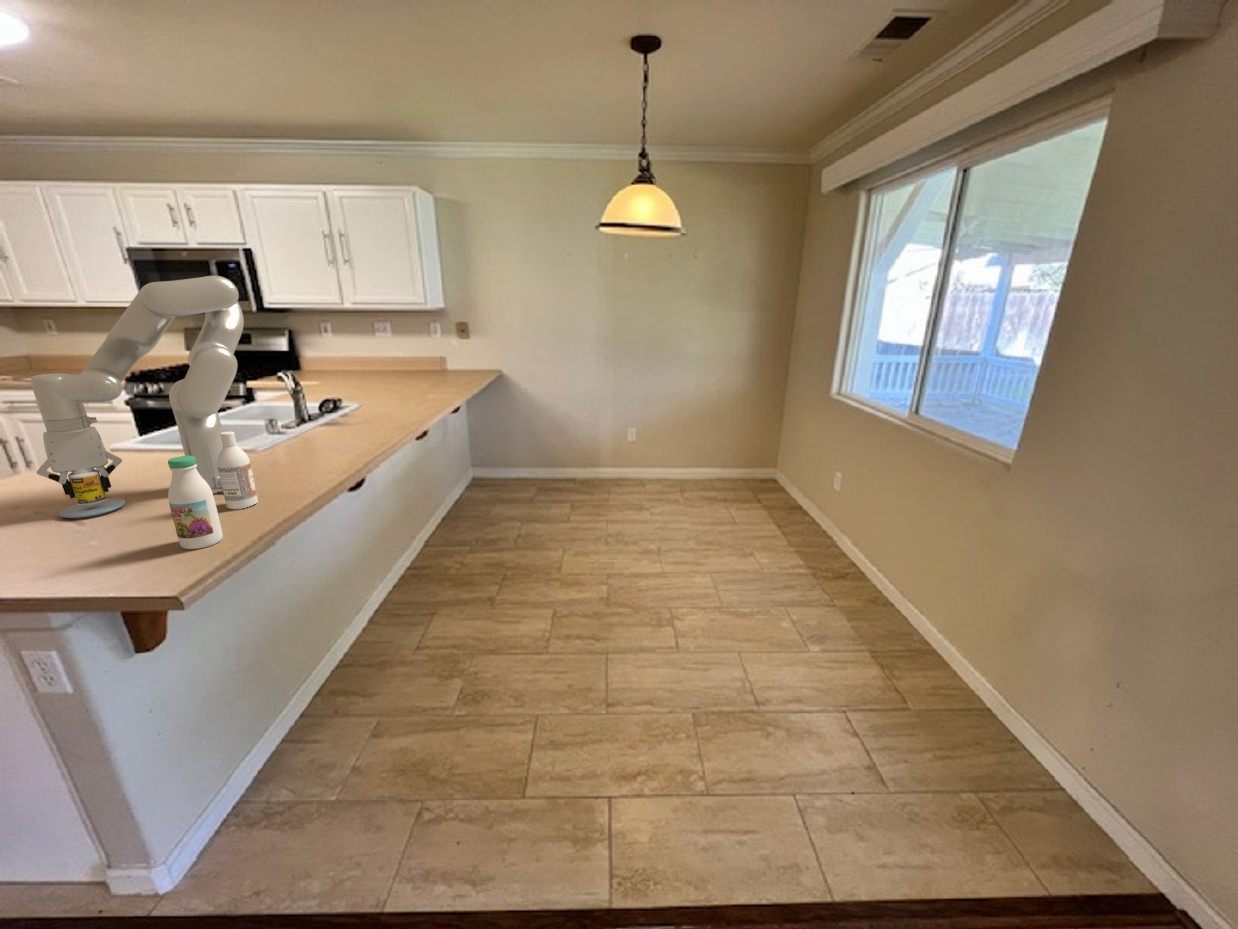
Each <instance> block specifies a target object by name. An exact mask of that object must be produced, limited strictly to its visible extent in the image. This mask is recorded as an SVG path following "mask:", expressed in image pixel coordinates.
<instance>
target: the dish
mask: <svg viewBox="0 0 1238 929" xmlns="http://www.w3.org/2000/svg"><path fill="white" fill-rule="evenodd" d="M125 505H126V500H124V499H123V498H115V497H114V498H107V499H106V500H105V501H104V502H102V503H99V504H95V505H89V506H80V505H78V504H77V503H76V504H74V505H70V506H67V507H65V508H63V509H62V510H60V511H59V513H58V514H59V516H60V517H61V518H65V519H66V518H67V519H77V520H78V519H79V520H80V519H90V518H95V517H99V516H103V515H107V514H110V513H113V512H115V511H117V510H118V509H121V508H122V507H124V506H125Z"/></svg>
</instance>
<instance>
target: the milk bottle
mask: <svg viewBox="0 0 1238 929" xmlns="http://www.w3.org/2000/svg"><path fill="white" fill-rule="evenodd" d="M167 465H168V467H169V470H170V471H171V482H170V484H169V487H168V492H167V497H168V498H167V499H168V504H169V508H170V512H171V516H172V521H173V525H174V528H175V532H176V536H177V538H178V543H179V546H180V548H182V549H185V550H198V549H203V548H206V547H211V546H213V545H216V544H217V543H219V541H220V540H221V541H222V540H223V537H224V534H223V530H222V526H221V521H220V517H219V513H218V512H219V511H218V509H217V504H216V501H215V497H214V494H213V493H212V490H211V488H210V486H209V485H208V483H207V482H206V481H205V480H204V479H203V478H202V477H201V476H200V474H199V473H198V471H197V469H196V466H197V465H196V459H195V457H194V456H185V455H181V456H175V457H172V458H170V459H168V460H167ZM221 541H220V542H221Z"/></svg>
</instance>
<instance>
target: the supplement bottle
mask: <svg viewBox="0 0 1238 929" xmlns="http://www.w3.org/2000/svg"><path fill="white" fill-rule="evenodd" d="M67 479H68V480H69V481H70V484H71V487H72V490H73V493H74V496H75V498H74V499H75V503H76V504H78V505H80V506H89V505H95V504H99V503H102V502H104V501H105V500H106V499H108V497H107V494H106V493H107V492H105V491H104V487H103V484H102V481H101V473H100V472H99V471H98V470H97V469H96V468H90V469H79V470H76V471H70V473H68V475H67Z"/></svg>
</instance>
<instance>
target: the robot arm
mask: <svg viewBox="0 0 1238 929" xmlns="http://www.w3.org/2000/svg"><path fill="white" fill-rule="evenodd" d="M238 290H239V289H238V288H237V286H236V285H235V283H233V282H232V281H231V280H230V279H229V278H227V277H224V276H220V275H207V276H201V277H193V278H186V279H185V278H184V279H176V280H167V281H166V280H165V281H153V282H149V283H147V284H144V285H143V286H142V287H141V289H140V290H139V291H137V294H136V295H135V296H134V298H133V299H132V301H131V302H130V304H129V305H128V306H127V308H126V309H125V310H124V312H123V314H122V315H121V316H120V318H119V319H118V320H117V321H116V322H115V324H114V325H113V327H112V328H111V330H110V331H109V332H108V334H107V336H106V338H105V339H104V341H103V342H102V343H101V345H100V346H99V348H97V350H96V352H95V353H94V354H93V356H91V359H90V360H89V362H87V364H86V365H85V367H84V368H83V369H82V371H81V373H80V374H71V373H64V372H63V373H61V372H58V373H55V372H54V373H42V374H36V375H33V376H32V377H31V378H30V380H29V381H30V386H31V388H32V392H33V394H34V398H35V400H36V403H37V406H38V410H39V413H40V415H41V419H42V421H43V424H44V427H45V428H44V429H45V431H43V433H42V435H43V437H42V438H43V444H44V449H45V454H46V457H47V459H45V461H44V462H43V464H41V465H40V467H39V468H38V469H37V470H36V475H39V476H41V477H44V478H47V479H49V480H51V481H54V482H57V483H59V484H60V485H61V486H62V489H63V492H64V495H65V496H69V497H70V498H69V499H75V496H74V493H73V490H72V487H71V484H70V481H69V478H68V475H69V472H70V473H71V471H76V470H79V469H90V468H94V469H95V470H98V471H99V473H100V476H101V481H102V484H103V487H104V491H105V493H109V492H110V491H109V489H111V488H112V485H111V481H110V477H109V476H110V475H111V473H112V472H113V471H115V469H116V468H117V467H118V466H120V464H122V462H123V459H122V458H121V457H119V456H117V455H115V454H113V453H111V452H109V451H108V450H106V448H105V445H104V443H103V440H102V437H101V435H100V433H99V432H98V430H97V428H96V426H91V425H92V424H94V423H98V421H97V417H93V416H88V414H87V410H86V408H85V404H84V403H107V402H111V401H114V400H116V399H118V398H119V397H120V396H121V394H122V392H123V385H122V383H123V381H125V378H126V377H127V376H128V374H129V372H131V370H132V368H133V367H134V366H135V365H136V364H137V362H139V360H141V359H142V358H143V357H144V356H147V355H148V354H149V353H150V352H151V351H152V350H153V349H154V348H155V347H156V346H157V344H158V342H159V341H160V340H161V338H162V337H163V335H164V333H166V331H167V329H168V328H169V326H170V325H171V324H172V323H173V321H174V319H175V318H176V317H184V316H185V317H186V316H192V315H198V314H204V313H205V318H204V322H203V324H202V327H201V330H200V332H199V334H198V336H197V337H196V340H195V343H194V344H193V346H192V348H191V350H190V352H189V353H188V357H187V362H188V365H189V368H188V370H187V373H186V375H185V377H184V378H183V379H180V380H178V381H176V382H174V384H173V385H172V386H171V387H170V390H169V393H168V396H169V403H170V405H171V406H170V407H171V409H172V413H173V415H174V419H175V422H176V427H177V430H178V434H179V437H180V442H181V447H182V449H183V450H182V451H183V454H184V455H183V456H194V457H195V459H196V465H197V466H196V469H197V471H198V473H199V474H200V476H201V477H202V478H203V479H204V480H205V481H206V482H207V483H208V485H209V486H210V488H211V490H212V493H213V495H214V494H219V493H223V489H222V485H221V480H220V476H219V472H218V466H217V459H218V456H219V454H220V452H221V450H222V448H223V445H222V440H221V436H220V433H222V432H224V431H223V426H222V423H221V419H220V415H219V412H218V411H219V410H220V409H221V407H222V405H223V403H224V401H225V399H226V397H227V395H228V394H229V390H230V388H231V386H232V384H233V382H234V380H235V377H236V374H237V371H238V360H237V357H236V356H235V351H236V350H237V347H238V345H239V341H240V339H241V337H242V334H243V330H244V322H245V321H244V320H245V318H244V314H243V310H242V308H241V304H240V303H239V302H238V301H239V297H240V296H239V291H238ZM109 460H110V461H112V462H111V463H110V464H109V465H108V463H109ZM106 465H107V467H105V466H106ZM49 469H50V470H51V471H52V472H51V471H48V470H49ZM56 473H59V474H56ZM218 492H219V493H218Z"/></svg>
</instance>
